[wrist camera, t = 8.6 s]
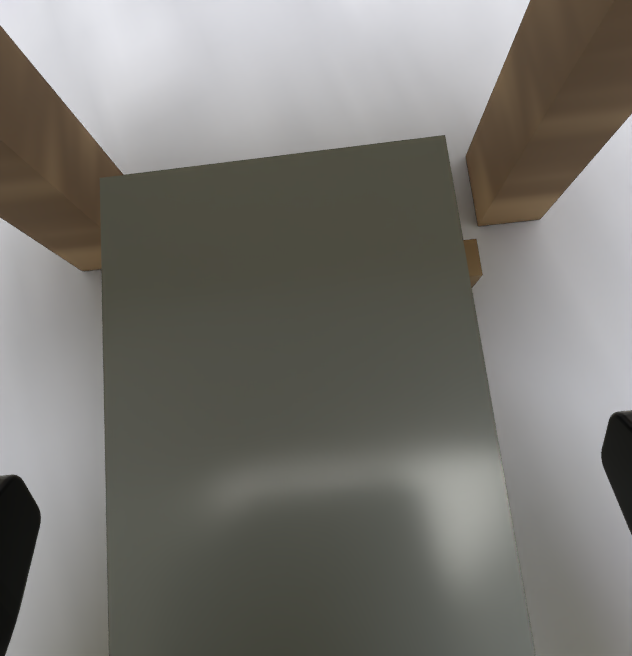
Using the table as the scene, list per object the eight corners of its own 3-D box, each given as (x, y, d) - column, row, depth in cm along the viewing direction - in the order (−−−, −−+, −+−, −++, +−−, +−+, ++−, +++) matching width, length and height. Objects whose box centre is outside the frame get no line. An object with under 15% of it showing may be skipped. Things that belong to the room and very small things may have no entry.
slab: (414, 571, 15) (573, 866, 5) (274, 585, 15) (113, 902, 5) (381, 331, 17) (444, 135, 6) (254, 346, 17) (100, 177, 6)
